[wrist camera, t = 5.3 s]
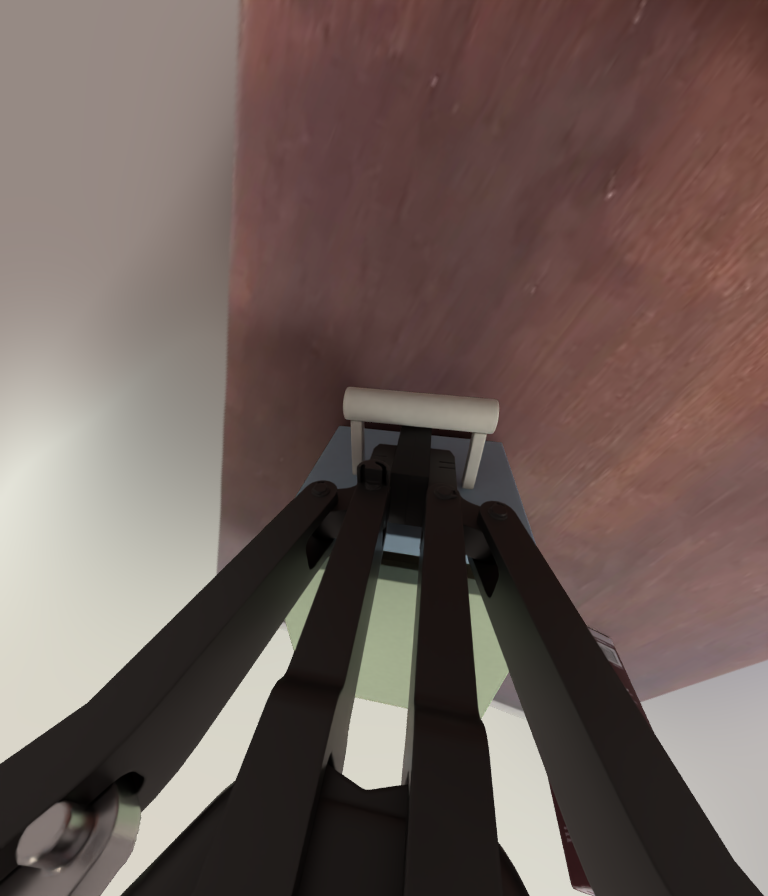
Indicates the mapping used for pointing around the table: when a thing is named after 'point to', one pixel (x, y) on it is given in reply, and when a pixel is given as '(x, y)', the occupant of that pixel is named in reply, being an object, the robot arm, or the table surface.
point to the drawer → (475, 458)
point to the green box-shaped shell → (406, 639)
